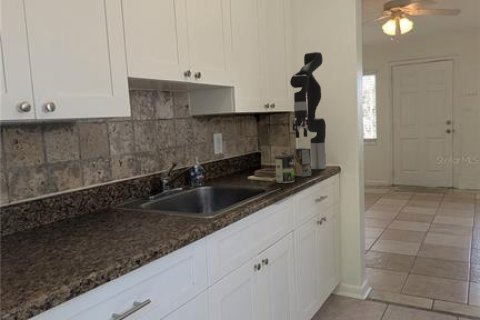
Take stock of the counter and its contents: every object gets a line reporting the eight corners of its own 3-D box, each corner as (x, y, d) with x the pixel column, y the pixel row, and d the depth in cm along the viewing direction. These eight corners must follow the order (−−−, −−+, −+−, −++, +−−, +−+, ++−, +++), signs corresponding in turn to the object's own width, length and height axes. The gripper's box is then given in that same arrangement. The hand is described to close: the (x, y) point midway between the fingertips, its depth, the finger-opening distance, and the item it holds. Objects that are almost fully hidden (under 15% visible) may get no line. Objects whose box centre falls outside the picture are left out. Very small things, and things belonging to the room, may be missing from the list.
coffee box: (311, 175, 227) (311, 148, 225) (302, 177, 224) (301, 149, 222) (303, 174, 235) (302, 147, 233) (294, 175, 232) (293, 148, 231)
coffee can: (297, 180, 214) (296, 155, 213) (291, 183, 205) (290, 157, 204) (279, 179, 219) (278, 155, 217) (273, 182, 210) (272, 157, 208)
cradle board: (268, 174, 242) (268, 167, 242) (292, 175, 230) (291, 169, 229) (247, 179, 227) (247, 172, 227) (272, 181, 215) (271, 173, 215)
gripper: (301, 109, 233) (302, 136, 235) (288, 110, 223) (289, 138, 224) (312, 109, 228) (313, 136, 230) (299, 109, 218) (300, 138, 219)
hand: (301, 137), depth 227 cm, fingers open, 8 cm apart
